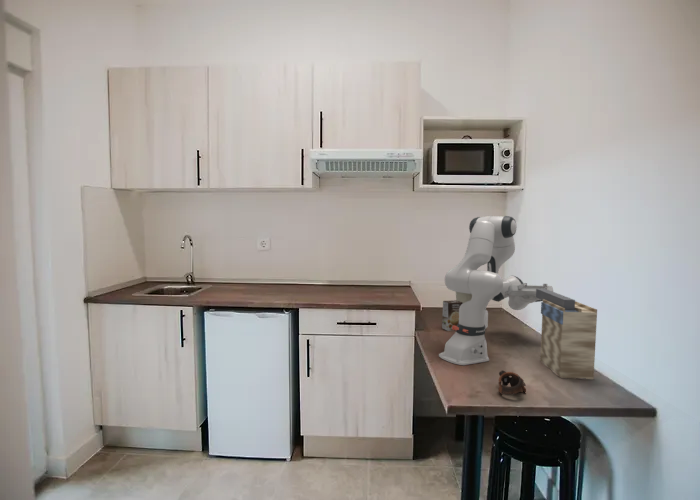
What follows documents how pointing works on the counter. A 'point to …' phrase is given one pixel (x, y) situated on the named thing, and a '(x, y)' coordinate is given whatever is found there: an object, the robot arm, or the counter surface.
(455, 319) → the coffee box
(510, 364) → the counter surface
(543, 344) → the duct stand
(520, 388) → the pottery mug
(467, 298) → the canister
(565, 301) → the dark gray block
